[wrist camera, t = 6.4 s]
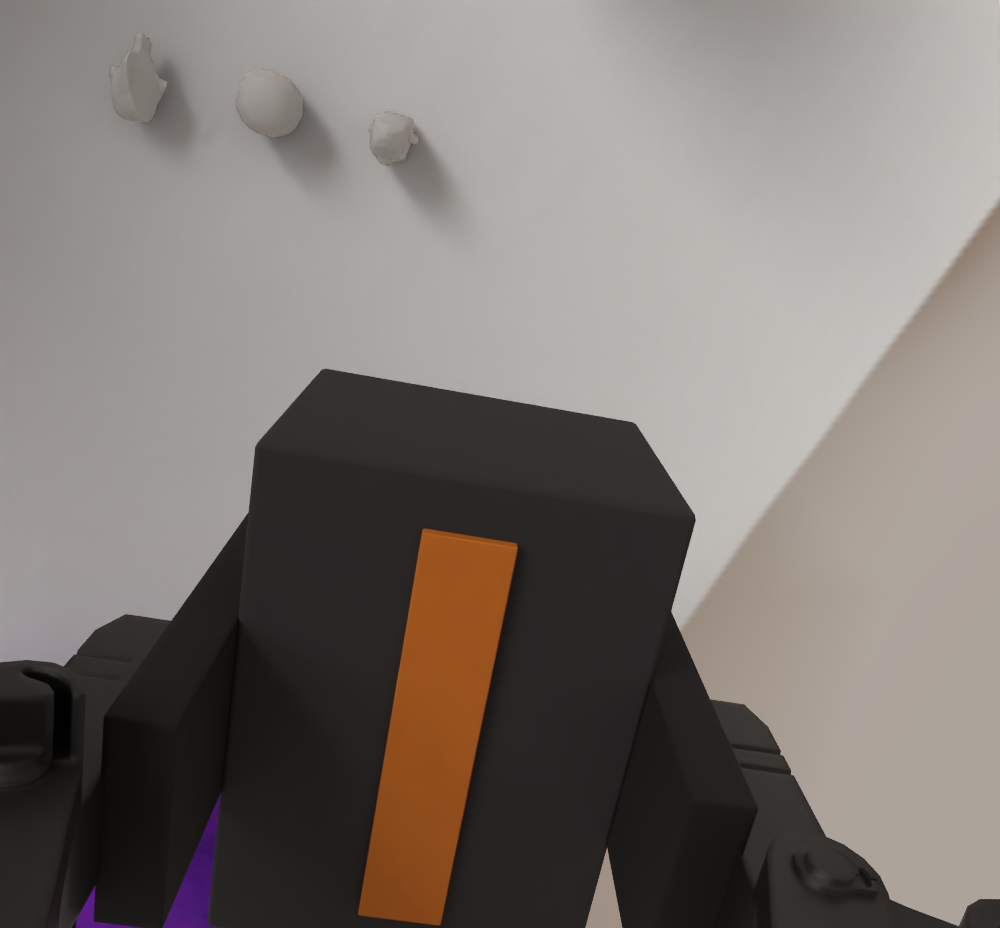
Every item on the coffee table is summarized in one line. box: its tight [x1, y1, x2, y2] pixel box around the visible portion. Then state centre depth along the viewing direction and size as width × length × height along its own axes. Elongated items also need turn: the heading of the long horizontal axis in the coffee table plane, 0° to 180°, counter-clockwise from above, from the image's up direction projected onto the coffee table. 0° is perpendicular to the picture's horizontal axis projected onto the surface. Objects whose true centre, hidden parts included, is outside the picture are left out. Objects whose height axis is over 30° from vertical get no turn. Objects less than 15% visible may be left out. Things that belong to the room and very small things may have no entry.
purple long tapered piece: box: [76, 796, 220, 928], centre depth 27 cm, size 5×5×15 cm
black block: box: [208, 369, 696, 928], centre depth 14 cm, size 8×6×5 cm
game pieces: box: [109, 32, 418, 165], centre depth 22 cm, size 8×2×2 cm, turn 76°
